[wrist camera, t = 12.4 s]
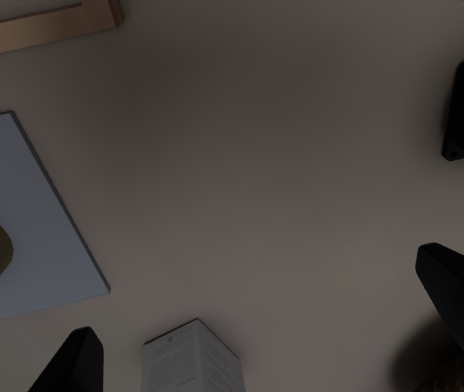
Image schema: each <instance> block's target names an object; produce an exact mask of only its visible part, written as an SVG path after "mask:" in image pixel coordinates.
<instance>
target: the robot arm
mask: <svg viewBox="0 0 464 392" xmlns="http://www.w3.org/2000/svg"><path fill="white" fill-rule="evenodd" d="M451 153H452V154H451ZM450 154H451V155H450ZM442 156H443V158H445V159H446V160H448V161H454V160H459V159H463V158H464V62H463V63H462V64H461V65H460V66H459V68H458V70H457V75H456V81H455V86H454V92H453V97H452V103H451V108H450V114H449V119H448V125H447V131H446V136H445V142H444V147H443V153H442ZM415 269H416V273H417V275H418V277H419V279H420V281H421V283H422V284H423V286H424V288H425V290H426V291H427V293H428V295H429V297H430V299H431V300H432V302H433V304H434V306H435V308H436V309H437V311H438V313H439V315H440V316H441V318H442V320H443V321H444V323H445V325H446V326H447V328H448V329H449V331H450V332H451V334H452V335H453V337H454V338H455V339H456V341H457V342H458V344H459V345H460V347H461V348H462V349H463V351H464V255H462V254H460V253H458V252H456V251H453V250H451V249H449V248H447V247H445V246H443V245H441V244H438V243H435V242H433V243H428V244H424V245H421V246H420V247H419V248H418V253H417V259H416V265H415ZM103 365H104V350H103V345H102V343H101V341H100V340H99V338H98V337H97V335H96V334H95V332H94V331H93V329H92V328H91V327H89V326H86V327H82V328H78V329H75V330H73V331H72V332H71V333H70V335H69V336H68V337H67V339H66V340H65V342H64V343H63V344H62V346H61V347H60V348H59V350H58V351H57V352H56V354H55V355H54V357H53V358H52V359H51V361H50V362H49V363H48V365H47V366H46V367H45V369H44V370H43V372H42V373H41V374H40V376H39V377H38V378H37V380H36V381H35V382H34V384H33V385H32V386H31V388H30V389H29V391H28V392H103Z"/></svg>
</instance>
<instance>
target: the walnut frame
mask: <svg viewBox="0 0 464 392" xmlns="http://www.w3.org/2000/svg"><path fill="white" fill-rule="evenodd" d="M80 1H81V3H79V4H75V5H70V6H66V7H61V8H56V9H52V10H47V11H42V12H38V13H33V14H28V15H24V16H19V17H15V18H10V19H5V20H1V21H0V53H2V52H7V51H11V50H16V49H21V48H25V47H30V46H34V45H39V44H44V43H48V42H53V41H57V40H62V39H66V38H71V37H76V36H80V35H85V34H89V33H94V32H99V31H103V30H108V29H112V28H116V27H117V26H118V25H119V24H120V23H121V22H122V21H123V20H124V17H123V14H122V10H121V7H120V4H119V1H118V0H80Z"/></svg>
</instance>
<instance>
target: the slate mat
mask: <svg viewBox="0 0 464 392" xmlns="http://www.w3.org/2000/svg"><path fill="white" fill-rule="evenodd" d="M0 226H2V227H3V229H4V230H5V231H6V233H7V234H8V235H9V237H10V238H11V241H12V245H13V248H14V253H13V258H12V261H11V263H10V264H9V265H8V266H7V268H6V269H5V270H4V272H3V273H2V274H1V275H0V320H1V319H5V318H9V317H13V316H17V315H22V314H26V313H30V312H34V311H38V310H43V309H47V308H51V307H55V306H59V305H63V304H68V303H72V302H76V301H80V300H84V299H89V298H93V297H97V296H101V295H105V294H109V293H110V290H111V289H110V287H109V285H108V284H107V282H106V280H105V278H104V276H103V274H102V273H101V271H100V269H99V267H98V265H97V264H96V262H95V260H94V258H93V256H92V255H91V253H90V251H89V249H88V247H87V245H86V244H85V242H84V240H83V238H82V236H81V235H80V233H79V231H78V229H77V227H76V225H75V224H74V222H73V220H72V218H71V216H70V215H69V213H68V211H67V209H66V207H65V205H64V204H63V202H62V200H61V198H60V196H59V195H58V193H57V191H56V189H55V187H54V186H53V184H52V182H51V180H50V178H49V176H48V175H47V173H46V171H45V169H44V167H43V166H42V164H41V162H40V160H39V158H38V156H37V155H36V153H35V151H34V149H33V147H32V146H31V144H30V142H29V140H28V138H27V136H26V135H25V133H24V131H23V129H22V127H21V126H20V124H19V122H18V120H17V118H16V117H15V115H14V113H13V111H8V112H4V113H0Z"/></svg>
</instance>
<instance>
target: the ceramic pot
mask: <svg viewBox="0 0 464 392" xmlns="http://www.w3.org/2000/svg"><path fill="white" fill-rule="evenodd" d="M414 392H464V352H462V353H460V354H458V355H457V356H455V357H454V358H452V359H451V360H450V361H448V362H447V363H446V364H445V365H443V366H442V367H441V368H439V369H438V370H437V371H435V372H434V373H433V374H432V375H430V376H429V377H428V378H426V379H425V380H424V381H423V382H422V383H421V384H420V385H419V386H418V388H417V389H416V390H415V391H414Z"/></svg>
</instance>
